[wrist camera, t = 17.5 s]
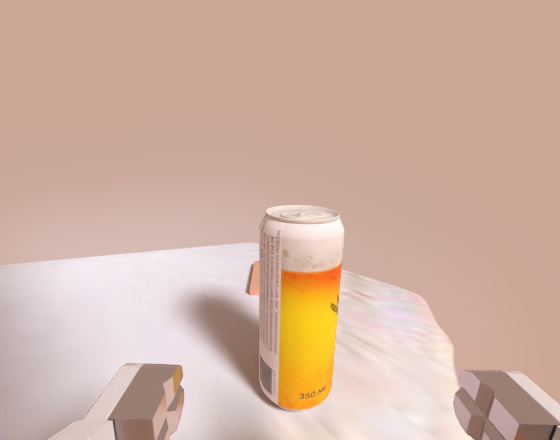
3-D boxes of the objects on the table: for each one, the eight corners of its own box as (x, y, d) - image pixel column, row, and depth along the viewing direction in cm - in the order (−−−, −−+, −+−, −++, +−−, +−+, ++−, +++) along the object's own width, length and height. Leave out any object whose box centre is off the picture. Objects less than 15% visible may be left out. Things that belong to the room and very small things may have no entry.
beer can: (345, 387, 22) (362, 213, 18) (294, 436, 18) (304, 226, 14) (294, 347, 26) (300, 201, 23) (244, 380, 22) (242, 209, 19)
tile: (320, 289, 36) (310, 261, 46) (249, 288, 36) (254, 261, 46) (320, 298, 37) (310, 269, 46) (249, 297, 36) (254, 268, 46)
